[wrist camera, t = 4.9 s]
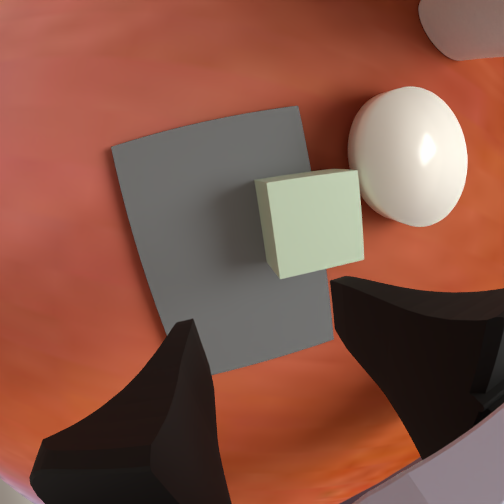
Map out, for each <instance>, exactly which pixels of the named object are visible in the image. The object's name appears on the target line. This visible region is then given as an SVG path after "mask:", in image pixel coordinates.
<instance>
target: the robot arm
mask: <svg viewBox="0 0 504 504" xmlns="http://www.w3.org/2000/svg"><path fill="white" fill-rule="evenodd" d="M330 285H331V294H332V303H333V313H334V324H335V330H336V332H337V333H338V335H339V337H340V338H341V340H342V342H343V343H344V345H345V346H346V348H347V349H348V351H349V352H350V353H351V354H352V355H353V357H354V358H355V359H356V360H357V361H358V363H359V364H360V365H361V366H362V367H363V368H364V370H365V371H366V372H367V373H368V374H369V375H370V377H371V378H372V379H373V380H374V381H375V382H376V384H377V385H378V386H379V387H380V388H381V390H382V391H383V392H384V394H385V395H386V397H387V398H388V400H389V401H390V403H391V404H392V406H393V408H394V409H395V411H396V412H397V414H398V416H399V417H400V419H401V421H402V422H403V424H404V426H405V427H406V429H407V431H408V433H409V435H410V436H411V438H412V440H413V442H414V444H415V446H416V448H417V450H418V452H419V454H420V456H421V458H422V461H421V462H419V463H417V464H415V465H414V466H412V467H410V468H408V469H406V470H405V471H403V472H401V473H399V474H398V475H396V476H395V477H393V478H391V479H390V480H388V481H386V482H385V483H383V484H381V485H379V486H378V487H376V488H374V489H372V490H371V491H369V492H367V493H366V494H364V495H363V496H362V497H360V498H359V499H358V500H357V501H355V502H354V503H353V504H504V288H503V289H497V290H489V291H480V292H458V293H451V292H433V291H422V290H415V289H409V288H403V287H398V286H393V285H388V284H384V283H379V282H375V281H370V280H366V279H361V278H356V277H350V276H344V277H341V278H338V279H334V280H331V281H330ZM30 484H31V486H32V488H33V490H34V491H35V493H36V494H37V496H38V497H39V498H40V499H41V500H42V501H43V502H44V503H45V504H232V503H231V500H230V496H229V492H228V488H227V484H226V480H225V475H224V471H223V467H222V462H221V457H220V452H219V446H218V439H217V425H216V410H215V396H214V386H213V381H212V375H211V370H210V365H209V363H208V360H207V357H206V354H205V351H204V348H203V346H202V343H201V340H200V337H199V334H198V331H197V328H196V325H195V322H194V319H189V320H185V321H180V322H176V323H175V325H174V326H173V328H172V329H171V331H170V332H169V334H168V335H167V337H166V338H165V340H164V341H163V343H162V344H161V346H160V347H159V348H158V350H157V351H156V353H155V354H154V355H153V356H152V358H151V359H150V360H149V361H148V363H147V364H146V365H145V367H144V368H143V369H142V370H141V371H140V372H139V374H138V375H137V376H136V377H135V378H134V379H133V380H132V381H131V382H130V383H129V384H128V385H127V386H126V387H125V388H124V389H123V390H122V391H120V392H119V393H118V394H117V395H116V396H114V397H113V398H112V399H111V400H109V401H108V402H107V403H106V404H105V405H103V406H102V407H101V408H99V409H98V410H96V411H95V412H93V413H92V414H90V415H89V416H87V417H86V418H84V419H82V420H81V421H79V422H78V423H76V424H74V425H72V426H70V427H68V428H66V429H64V430H62V431H60V432H58V433H56V434H54V435H52V436H50V437H48V438H45V439H43V441H42V443H41V446H40V449H39V452H38V454H37V457H36V460H35V463H34V466H33V469H32V472H31V475H30Z"/></svg>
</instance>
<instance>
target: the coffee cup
mask: <svg viewBox="0 0 504 504" xmlns="http://www.w3.org/2000/svg"><path fill="white" fill-rule="evenodd" d="M418 11H419V17H420V21H421V24H422V26H423V28H424V30H425V32H426V34H427V36H428V37H429V39H430V40H431V41H432V43H433V44H434V45H435V46H436V47H437V49H438V50H439V51H441V52H442V53H443V54H444V55H445V56H447V57H449V58H451V59H453V60H456V61H462V60H470V59H480V58H491V57H504V0H421V1H420V3H419V8H418Z"/></svg>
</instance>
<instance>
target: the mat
mask: <svg viewBox="0 0 504 504" xmlns="http://www.w3.org/2000/svg"><path fill="white" fill-rule="evenodd" d="M111 149H112V154H113V158H114V163H115V167H116V171H117V176H118V180H119V184H120V188H121V192H122V196H123V200H124V204H125V208H126V211H127V215H128V219H129V222H130V226H131V229H132V233H133V236H134V240H135V243H136V246H137V250H138V253H139V256H140V259H141V263H142V266H143V269H144V272H145V275H146V278H147V281H148V284H149V287H150V290H151V293H152V296H153V299H154V302H155V304H156V307H157V310H158V313H159V316H160V318H161V321H162V324H163V326H164V329H165V332H166V334H167V335H168V334H169V332H170V331H171V329H172V328H173V326H174V325H175V323H176V322H180V321H185V320H189V319H194V322H195V325H196V328H197V331H198V334H199V337H200V340H201V343H202V346H203V348H204V351H205V354H206V357H207V360H208V363H209V365H210V370H211V375H214V374H218V373H222V372H226V371H230V370H234V369H238V368H242V367H245V366H249V365H253V364H256V363H260V362H264V361H267V360H270V359H274V358H277V357H281V356H284V355H287V354H291V353H294V352H297V351H300V350H303V349H306V348H310V347H313V346H316V345H319V344H322V343H325V342H327V341H330V340H333V339H334V338H333V327H332V317H331V307H330V298H329V289H328V280H327V272H326V269H323V270H318V271H314V272H310V273H306V274H301V275H297V276H292V277H288V278H284V279H279V277H278V276H277V275H276V273H275V272H274V271H273V270H272V268H271V267H270V266H269V264H268V263H267V260H266V253H265V246H264V240H263V233H262V226H261V220H260V213H259V207H258V200H257V194H256V187H255V181H254V180H257V179H263V178H269V177H276V176H282V175H289V174H296V173H303V172H310V171H311V167H310V162H309V157H308V151H307V146H306V141H305V136H304V131H303V126H302V121H301V117H300V112H299V107H298V106H292V107H285V108H277V109H271V110H264V111H258V112H252V113H246V114H240V115H235V116H230V117H225V118H220V119H215V120H210V121H205V122H201V123H196V124H192V125H188V126H184V127H179V128H175V129H172V130H168V131H164V132H160V133H156V134H153V135H149V136H146V137H142V138H139V139H135V140H132V141H129V142H125V143H122V144H119V145H116V146H113V147H111Z"/></svg>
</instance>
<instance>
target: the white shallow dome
mask: <svg viewBox="0 0 504 504" xmlns="http://www.w3.org/2000/svg"><path fill="white" fill-rule="evenodd" d="M348 161H349V167H350V170H358V178H359V189H360V195H361V197H362V198H363V199H364V201H365V202H366V203H367V204H368V205H369V206H370V207H371V208H372V209H373V210H374V211H376V212H377V213H378V214H380V215H382V216H384V217H386V218H389V219H392V220H395V221H398V222H401V223H404V224H407V225H410V226H416V227H425V226H429V225H432V224H435V223H437V222H439V221H440V220H442V219H443V218H444V217H446V216H447V215H448V214H449V213H450V212H451V211H452V209H453V208H454V206H455V205H456V203H457V202H458V200H459V198H460V196H461V193H462V191H463V188H464V184H465V180H466V174H467V149H466V143H465V139H464V135H463V132H462V130H461V127H460V125H459V123H458V120H457V119H456V117H455V115H454V113H453V112H452V111H451V109H450V108H449V107H448V106H447V104H446V103H445V102H444V101H443V100H442V99H440V98H439V97H438V96H437V95H435V94H434V93H432V92H430V91H428V90H426V89H423V88H419V87H412V86H411V87H403V88H399V89H395V90H392V91H388V92H385V93H381V94H378V95H376V96H374V97H372V98H371V99H370V100H368V101H367V102H366V103H365V104H364V105H363V106H362V107H361V108H360V110H359V111H358V113H357V114H356V116H355V118H354V120H353V123H352V126H351V129H350V133H349V139H348Z"/></svg>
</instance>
